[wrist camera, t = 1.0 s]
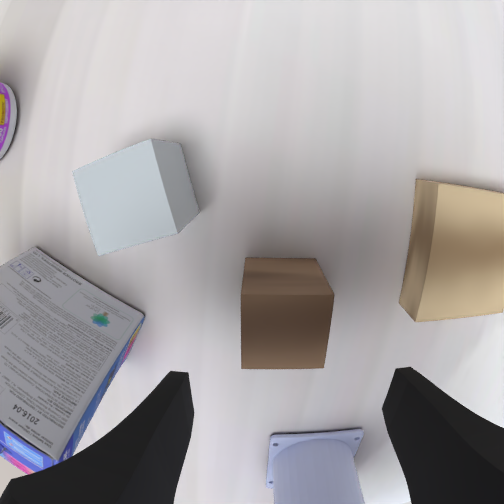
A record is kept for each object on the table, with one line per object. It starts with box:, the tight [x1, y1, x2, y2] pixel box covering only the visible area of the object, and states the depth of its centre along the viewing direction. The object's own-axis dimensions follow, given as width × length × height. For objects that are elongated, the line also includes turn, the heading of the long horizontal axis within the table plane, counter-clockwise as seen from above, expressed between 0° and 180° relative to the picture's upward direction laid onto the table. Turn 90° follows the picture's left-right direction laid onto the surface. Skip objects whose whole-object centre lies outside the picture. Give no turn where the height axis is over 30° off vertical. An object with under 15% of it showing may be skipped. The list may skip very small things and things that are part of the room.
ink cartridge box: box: [0, 247, 145, 474], centre depth 12 cm, size 10×6×14 cm, turn 62°
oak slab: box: [399, 179, 504, 322], centre depth 16 cm, size 8×8×3 cm
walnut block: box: [241, 258, 334, 369], centre depth 16 cm, size 4×4×5 cm
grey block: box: [72, 139, 200, 256], centre depth 14 cm, size 4×4×5 cm
